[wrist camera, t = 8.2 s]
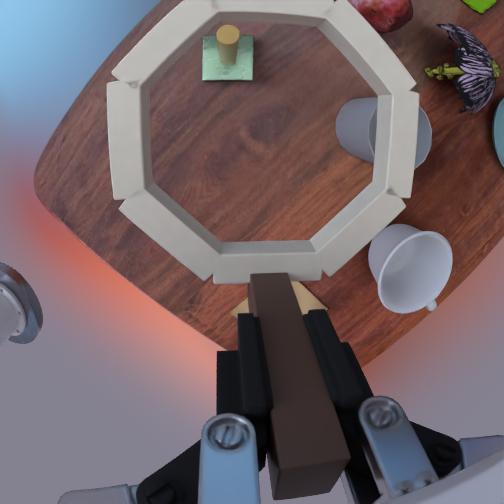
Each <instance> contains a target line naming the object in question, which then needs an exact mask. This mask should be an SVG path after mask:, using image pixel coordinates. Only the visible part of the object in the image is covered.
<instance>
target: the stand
mask: <svg viewBox="0 0 504 504" xmlns="http://www.w3.org/2000/svg"><path fill="white" fill-rule="evenodd" d="M253 51H254V36H251V35H240V32H239V30H238V29H237V28H236V27H235V26H232V25H225V26H222V27H221V28H219V30H218V31H217V35H208V36H203V65H202V81H252V80H253Z"/></svg>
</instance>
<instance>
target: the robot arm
mask: <svg viewBox="0 0 504 504" xmlns="http://www.w3.org/2000/svg"><path fill="white" fill-rule="evenodd" d="M237 318H238V350H235V351H217V415H216V416H214V417H212V418H211V419H209V420H208V421H207V422H206V424H205V425H204V426H203V430H202V434H201V439H200V440H199V441H198V442H197V443H195V444H194V445H193V446H191V447H190V448H188V449H187V450H186V451H185V452H183V453H182V454H180V455H179V456H178V457H176V458H175V459H173V460H172V461H171V462H169V463H168V464H166V465H165V466H163V467H162V468H161V469H159V470H158V471H156V472H155V473H153V474H152V475H150V476H149V477H147V478H146V479H145V480H144V481H142V482H141V483H140V484H139V485H133V486H128V485H127V484H125V485H118V486H111V487H104V488H96V489H86V490H76V491H70V492H66V493H65V494H63V495H62V496H61V497H60V499H59V501H58V504H261V499H260V486H259V472H260V471H261V470H262V469H263V468H264V467H265V461H266V454H267V442H268V432H269V422H270V411H271V409H273V394H272V388H271V382H270V376H269V370H268V364H267V358H266V352H265V346H264V340H263V335H262V329H261V323H260V317H254V315H253V313H237ZM303 319H304V321H305V324H306V327H307V330H308V333H309V336H310V339H311V341H312V344H313V347H314V350H315V353H316V356H317V359H318V362H319V364H320V367H321V370H322V373H323V376H324V379H325V382H326V385H327V388H328V391H329V394H330V397H331V400H332V402H333V404H334V407H335V410H336V413H337V416H338V419H339V422H340V425H341V428H342V431H343V434H344V437H345V440H346V443H347V446H348V449H349V452H350V456H351V459H350V461H349V462H348V464H347V466H346V467H345V469H344V471H343V472H342V474H341V475H340V477H341V480H342V483H343V486H344V490H345V493H346V496H347V499H348V503H349V504H504V436H503V435H495V436H485V437H474V438H461V439H460V440H459V441H456V440H455V439H453V438H451V437H449V436H447V435H444V434H442V433H439V432H436V431H434V430H431V429H429V428H426V427H424V426H421V425H419V424H416V423H414V422H411V421H409V420H408V418H407V416H406V414H405V412H404V411H403V409H402V407H401V406H400V405H399V403H398V402H396V401H395V400H394V399H392V398H389V397H386V396H374V395H373V393H372V391H371V389H370V386H369V384H368V382H367V380H366V378H365V376H364V373H363V371H362V369H361V367H360V365H359V363H358V361H357V359H356V356H355V354H354V352H353V350H352V348H351V346H350V345H349V343H347V342H343V343H341V342H340V340H339V338H338V336H337V334H336V331H335V329H334V327H333V325H332V323H331V320H330V318H329V316H328V314H327V312H326V310H325V309H312V310H309V311H308V314H303ZM25 327H26V315H25V312H24V309H23V307H22V305H21V303H20V302H19V300H18V299H17V297H16V296H15V295H14V294H13V293H12V291H11V290H10V289H8V288H7V287H6V286H4V285H3V284H1V283H0V350H1V349H2V347H3V346H4V345H5V343H6V342H7V340H8V339H9V338H10V336H11V335H12V336H17V335H20V334H21V333H22V332H23V331H24V329H25Z"/></svg>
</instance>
